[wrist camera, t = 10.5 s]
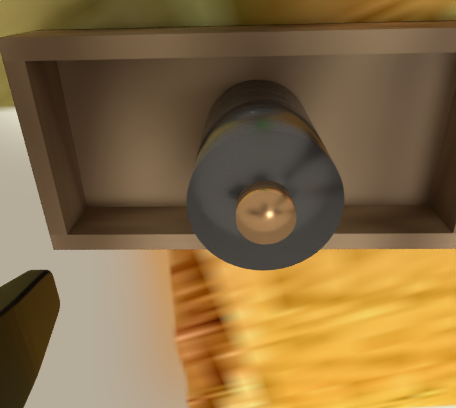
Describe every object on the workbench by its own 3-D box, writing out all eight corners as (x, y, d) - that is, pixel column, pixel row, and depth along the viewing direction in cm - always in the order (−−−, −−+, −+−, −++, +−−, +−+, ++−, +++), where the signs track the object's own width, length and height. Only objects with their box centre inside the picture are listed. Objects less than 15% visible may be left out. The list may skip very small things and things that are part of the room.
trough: (482, 19, 16) (534, 25, 13) (435, 212, 20) (467, 248, 17) (38, 30, 16) (-4, 37, 14) (79, 214, 20) (53, 249, 17)
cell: (304, 178, 18) (340, 284, 12) (207, 179, 18) (188, 284, 12) (312, 78, 16) (361, 138, 10) (202, 80, 16) (176, 140, 10)
